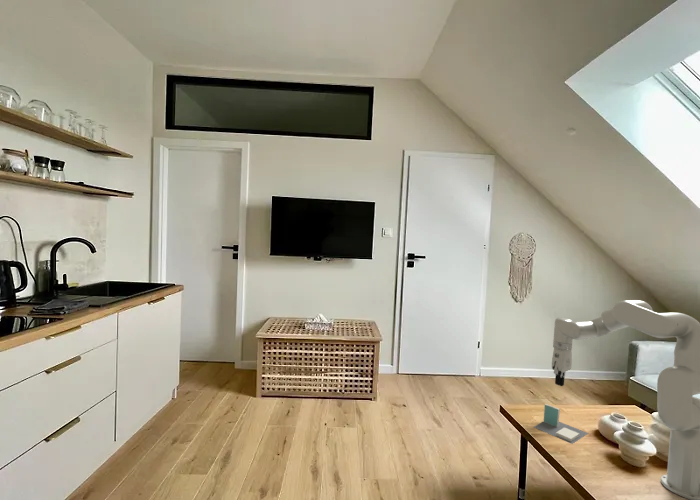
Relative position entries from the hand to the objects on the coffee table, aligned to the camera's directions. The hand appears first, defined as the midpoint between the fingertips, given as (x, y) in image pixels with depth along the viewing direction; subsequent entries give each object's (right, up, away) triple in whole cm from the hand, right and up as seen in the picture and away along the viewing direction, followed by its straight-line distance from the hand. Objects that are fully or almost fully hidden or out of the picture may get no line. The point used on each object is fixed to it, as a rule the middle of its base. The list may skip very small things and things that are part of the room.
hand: (559, 384), depth 172 cm
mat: (-4, -17, -8) cm, 20 cm away
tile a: (-1, -16, -11) cm, 20 cm away
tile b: (-6, -17, -3) cm, 18 cm away
